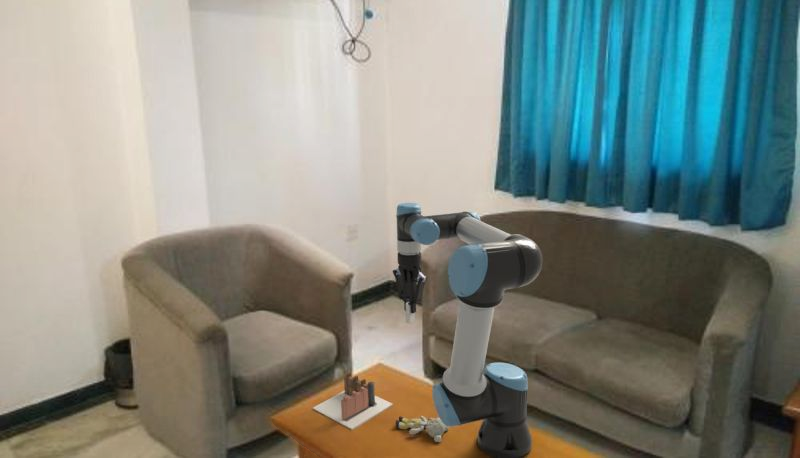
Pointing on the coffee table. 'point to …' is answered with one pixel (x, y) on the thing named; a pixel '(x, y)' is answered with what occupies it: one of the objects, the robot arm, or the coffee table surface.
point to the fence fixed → (359, 387)
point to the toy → (423, 426)
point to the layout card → (334, 412)
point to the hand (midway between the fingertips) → (410, 321)
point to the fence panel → (354, 403)
